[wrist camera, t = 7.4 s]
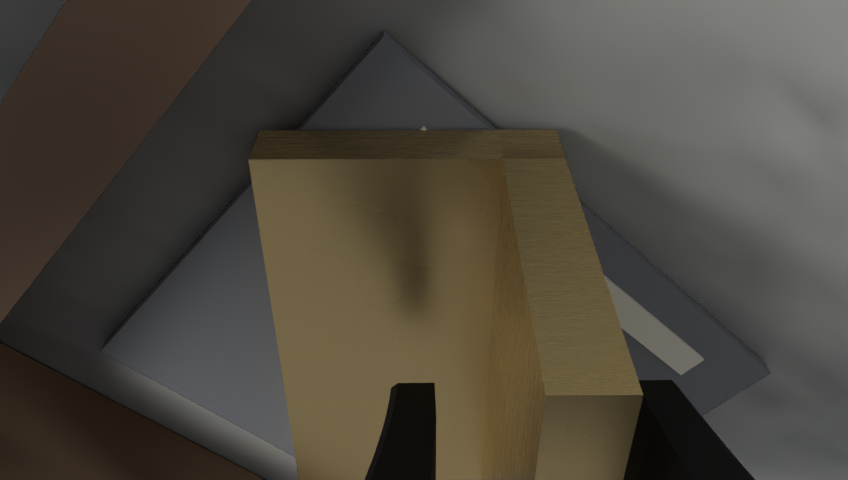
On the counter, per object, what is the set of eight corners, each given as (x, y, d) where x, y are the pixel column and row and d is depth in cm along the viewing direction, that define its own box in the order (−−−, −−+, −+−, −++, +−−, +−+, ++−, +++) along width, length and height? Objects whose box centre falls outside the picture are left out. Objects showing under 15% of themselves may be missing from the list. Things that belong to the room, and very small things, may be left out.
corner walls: (-118, 338, 16) (-239, 476, 13) (281, -256, 10) (226, -251, 7) (388, 585, 21) (384, 721, 18) (836, 298, 15) (934, 431, 12)
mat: (105, 341, 16) (98, 354, 15) (384, 30, 12) (383, 39, 12) (475, 545, 20) (476, 558, 20) (765, 363, 16) (772, 376, 16)
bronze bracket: (521, 443, 17) (562, 735, 12) (305, 444, 17) (257, 736, 12) (556, 129, 13) (642, 395, 8) (258, 130, 12) (155, 397, 8)
